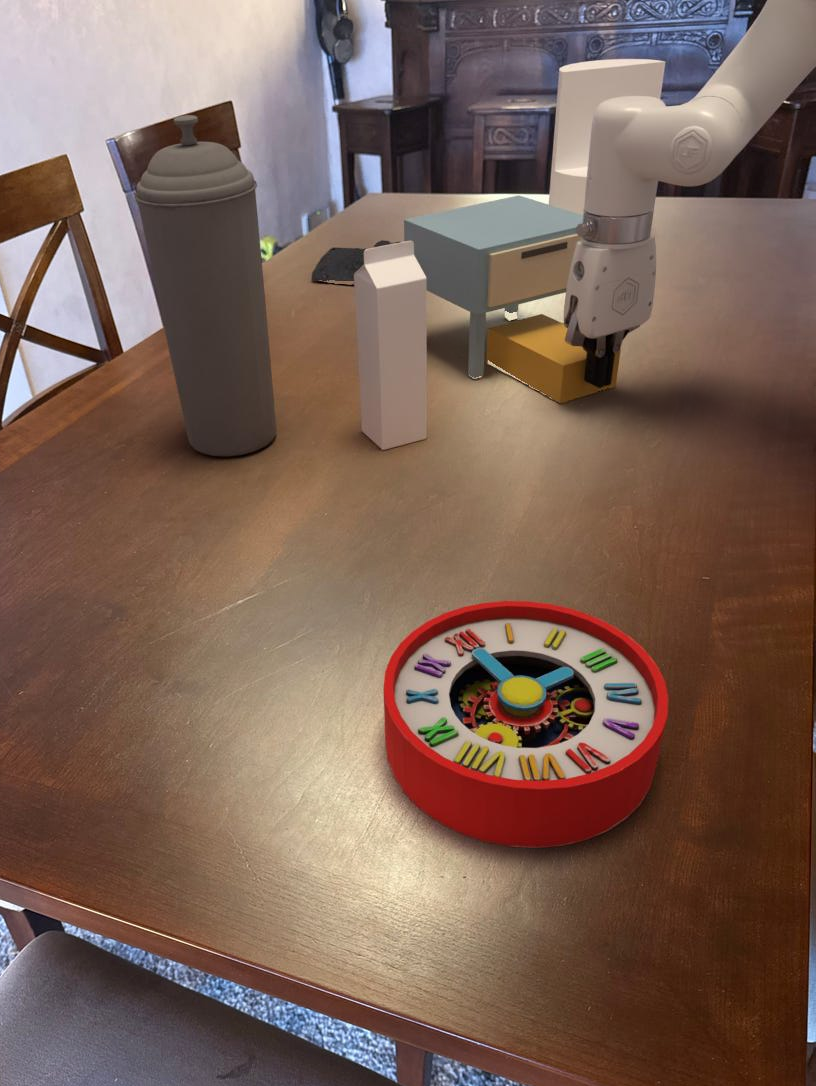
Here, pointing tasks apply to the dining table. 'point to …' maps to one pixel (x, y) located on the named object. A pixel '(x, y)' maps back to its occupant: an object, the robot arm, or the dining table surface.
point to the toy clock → (523, 722)
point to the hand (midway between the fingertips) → (597, 382)
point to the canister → (210, 291)
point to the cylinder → (590, 117)
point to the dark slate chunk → (341, 263)
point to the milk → (392, 345)
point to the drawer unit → (494, 258)
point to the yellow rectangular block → (543, 357)
